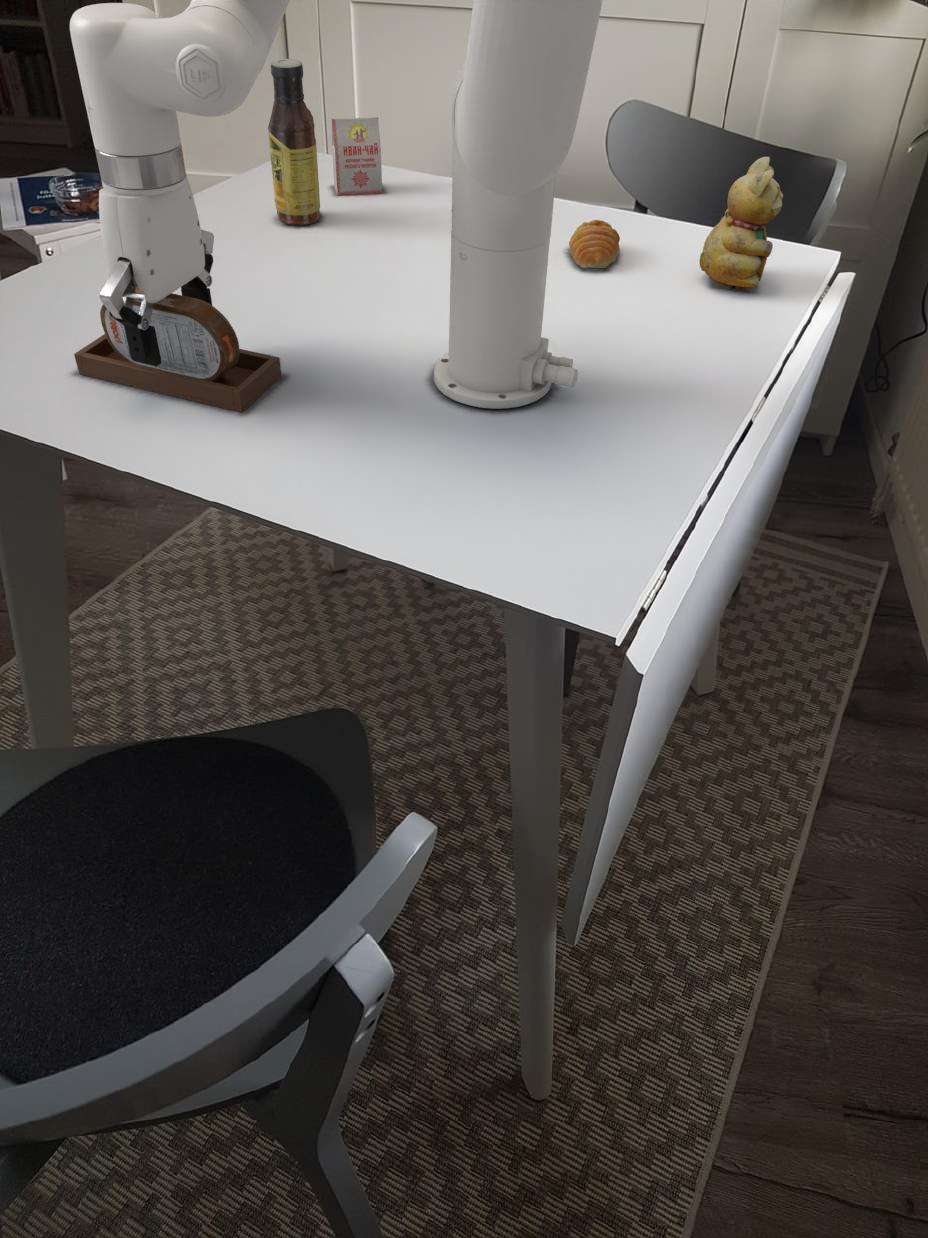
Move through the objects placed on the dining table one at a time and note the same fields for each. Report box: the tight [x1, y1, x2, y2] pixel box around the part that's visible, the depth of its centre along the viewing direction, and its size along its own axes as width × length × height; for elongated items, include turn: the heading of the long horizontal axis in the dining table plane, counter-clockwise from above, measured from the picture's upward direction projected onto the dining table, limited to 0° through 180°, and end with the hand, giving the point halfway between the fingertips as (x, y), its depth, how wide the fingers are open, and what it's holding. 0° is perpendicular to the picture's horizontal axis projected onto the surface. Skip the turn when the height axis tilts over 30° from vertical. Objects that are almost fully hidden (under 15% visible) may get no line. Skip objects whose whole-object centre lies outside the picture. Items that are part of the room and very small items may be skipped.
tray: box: [73, 333, 283, 413], centre depth 100 cm, size 20×8×2 cm, turn 69°
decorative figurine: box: [699, 156, 784, 293], centre depth 118 cm, size 10×8×15 cm
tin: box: [99, 288, 240, 382], centre depth 97 cm, size 15×3×8 cm, turn 69°
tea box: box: [331, 116, 383, 196], centre depth 142 cm, size 4×7×10 cm, turn 103°
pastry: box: [568, 219, 621, 269], centre depth 127 cm, size 9×7×4 cm
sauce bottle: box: [267, 58, 321, 226], centre depth 129 cm, size 7×6×20 cm
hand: (174, 341), depth 98 cm, fingers open, 9 cm apart
